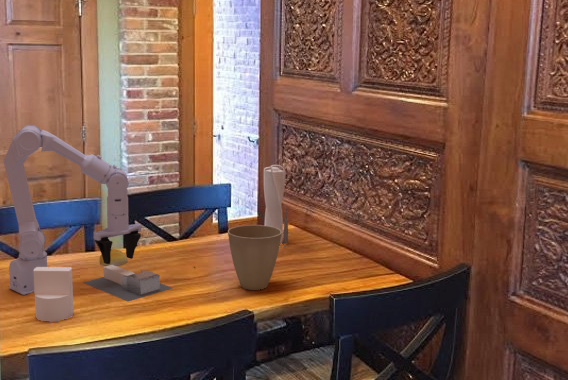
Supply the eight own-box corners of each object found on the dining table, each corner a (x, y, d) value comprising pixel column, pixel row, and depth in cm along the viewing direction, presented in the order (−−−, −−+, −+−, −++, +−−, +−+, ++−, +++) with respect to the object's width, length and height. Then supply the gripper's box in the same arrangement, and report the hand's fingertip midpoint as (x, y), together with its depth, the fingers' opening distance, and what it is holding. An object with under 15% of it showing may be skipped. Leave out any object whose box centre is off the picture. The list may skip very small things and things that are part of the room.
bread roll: (100, 268, 223) (99, 256, 223) (99, 260, 232) (98, 247, 231) (128, 267, 226) (128, 254, 225) (126, 258, 234) (126, 246, 233)
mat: (128, 302, 195) (128, 301, 195) (82, 283, 209) (82, 282, 209) (173, 289, 206) (173, 287, 206) (127, 272, 220) (127, 270, 220)
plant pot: (291, 287, 210) (292, 232, 207) (250, 298, 200) (250, 241, 197) (257, 274, 221) (258, 221, 218) (216, 284, 211) (217, 229, 208)
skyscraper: (283, 249, 247) (284, 166, 242) (259, 247, 249) (260, 164, 244) (288, 243, 256) (290, 161, 250) (265, 241, 257) (267, 160, 252)
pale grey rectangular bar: (103, 277, 213) (103, 266, 213) (112, 275, 216) (112, 264, 215) (127, 286, 206) (126, 275, 206) (135, 284, 208) (135, 273, 208)
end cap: (138, 296, 199) (138, 280, 198) (121, 289, 204) (121, 273, 203) (161, 289, 205) (161, 274, 204) (143, 283, 210) (143, 268, 209)
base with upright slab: (77, 308, 191) (75, 263, 188) (68, 322, 182) (66, 274, 179) (41, 308, 190) (39, 263, 188) (31, 322, 181) (28, 274, 179)
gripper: (103, 220, 199) (104, 269, 202) (147, 211, 210) (148, 258, 212) (88, 215, 204) (89, 263, 206) (132, 207, 214) (133, 253, 217)
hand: (118, 260), depth 210 cm, fingers open, 7 cm apart
